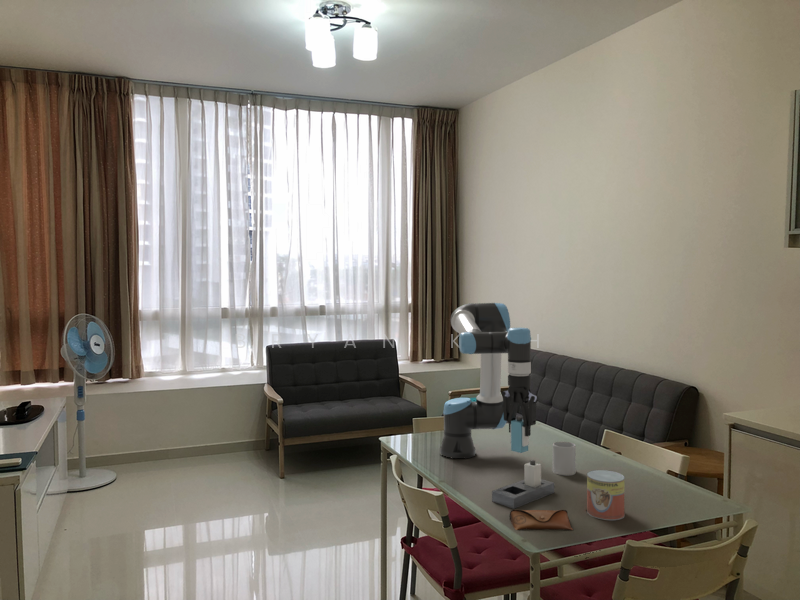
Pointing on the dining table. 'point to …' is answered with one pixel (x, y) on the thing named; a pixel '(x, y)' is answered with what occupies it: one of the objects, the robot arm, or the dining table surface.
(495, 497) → the strip
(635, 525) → the dining table surface
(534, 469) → the white knobbed block
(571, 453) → the mug
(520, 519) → the sunglasses case
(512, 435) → the plug
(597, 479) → the canned food
